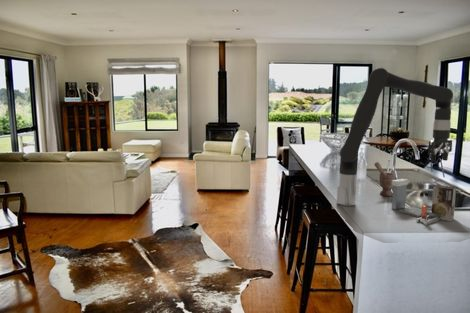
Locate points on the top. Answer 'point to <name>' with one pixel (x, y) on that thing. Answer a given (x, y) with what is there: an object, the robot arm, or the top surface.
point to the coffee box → (444, 201)
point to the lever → (424, 213)
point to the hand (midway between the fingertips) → (439, 161)
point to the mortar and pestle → (385, 181)
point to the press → (400, 199)
